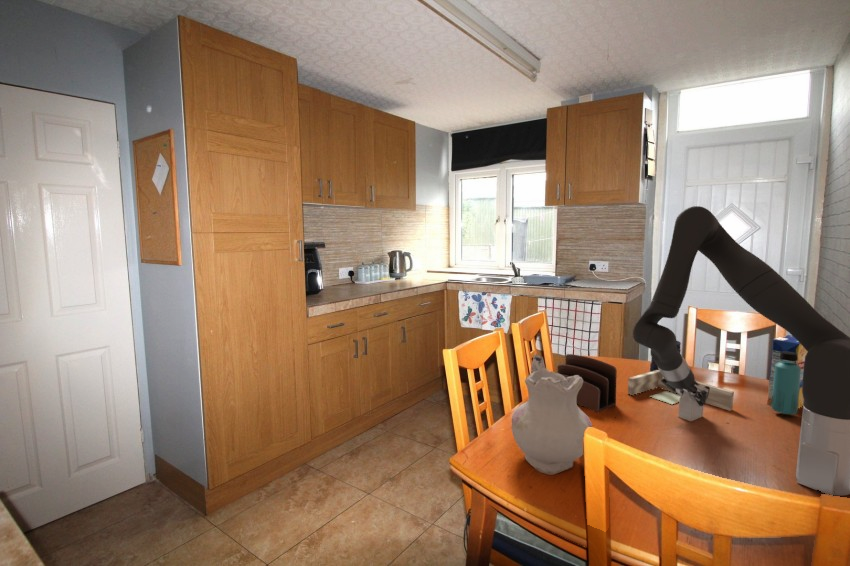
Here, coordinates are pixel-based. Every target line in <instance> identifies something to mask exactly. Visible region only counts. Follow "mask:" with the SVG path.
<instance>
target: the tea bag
mask: <svg viewBox="0 0 850 566" xmlns="http://www.w3.org/2000/svg"><path fill="white" fill-rule="evenodd" d="M697 394H698V393H697ZM703 415H704V405H703V406H699V404H698V402H697V401H696V399H695V398H694V397H691V396H690V395H689V394H688V393H687V392H685V391H684V393H683V394H682V396H681V397H680V400H679V403H678V418H680V419H683V420H685V421H689V422H693V421H696V420H697V419H700V418H702V417H703Z"/></svg>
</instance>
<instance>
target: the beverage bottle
mask: <svg viewBox="0 0 850 566" xmlns="http://www.w3.org/2000/svg"><path fill="white" fill-rule="evenodd" d="M780 358H781V359H783V360H788V361H797V354H796V353H793V352H788V351H782V352H781V354H780ZM800 374H801V368H800V367H799V366H798V365H797V364H795V363H792V362H786V361H781V362H778V363H776V364H775V372H774V382H773V390H772V391H773V394H772V399H771V400H772V401H771V402H772V404H771V405H770V406H771V410H773V411H775V412H777V413H781V414H784V415H796V414H798V412H799V409H798V406H799V404H798V400H799V396H800V395H799V394H800V393H799V392H800V391H799V388H800Z"/></svg>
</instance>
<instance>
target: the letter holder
mask: <svg viewBox="0 0 850 566" xmlns="http://www.w3.org/2000/svg"><path fill="white" fill-rule="evenodd" d="M556 370H557V371H556V373H559V374H561V375H563V376H564V377H565V378H567V377H570V376H574V375H579V377H581V378H582V379H583V384H582V387H581V388H580V390H579V392H578V394H577V399H576V404H579V405H578V406H580V405H581V406H580V407H582V406H584V407H583V408H585V407H586V408H585V409H587V410H590V409H591V411H593V410H594V411H593V412H596V413H598V412H599V413H600V412H601V413H602V412H603V411H605V410H608V409H610V408H612V407H615V406H616V405H617V377H618V376H617V374H618V373H617V371H618V370H617V368H616V367H615V366H614V365H612V364H610V363H607V362H604V361H602V360H599V359H595V358H592V357H589V356H588V357H587V356H584V355H578V354H569V353H567V354H565V364H564V363H560V364H558V365H557V369H556Z"/></svg>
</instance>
